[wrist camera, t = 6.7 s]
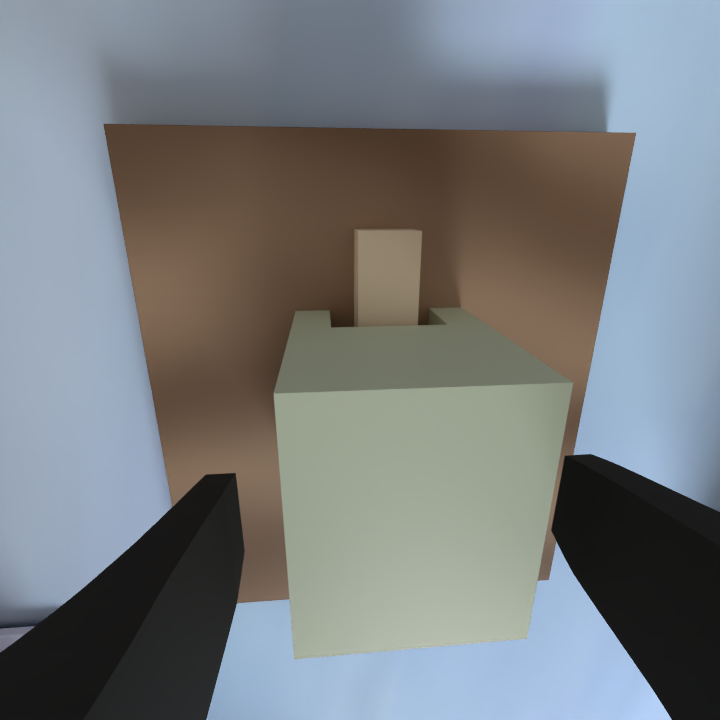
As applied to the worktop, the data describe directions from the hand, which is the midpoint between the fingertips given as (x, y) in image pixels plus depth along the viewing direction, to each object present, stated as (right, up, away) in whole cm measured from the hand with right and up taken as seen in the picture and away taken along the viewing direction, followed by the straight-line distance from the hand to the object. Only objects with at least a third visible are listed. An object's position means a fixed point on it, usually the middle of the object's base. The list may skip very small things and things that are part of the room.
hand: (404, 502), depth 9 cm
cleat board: (0, +2, +6) cm, 6 cm away
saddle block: (0, +2, +4) cm, 5 cm away
